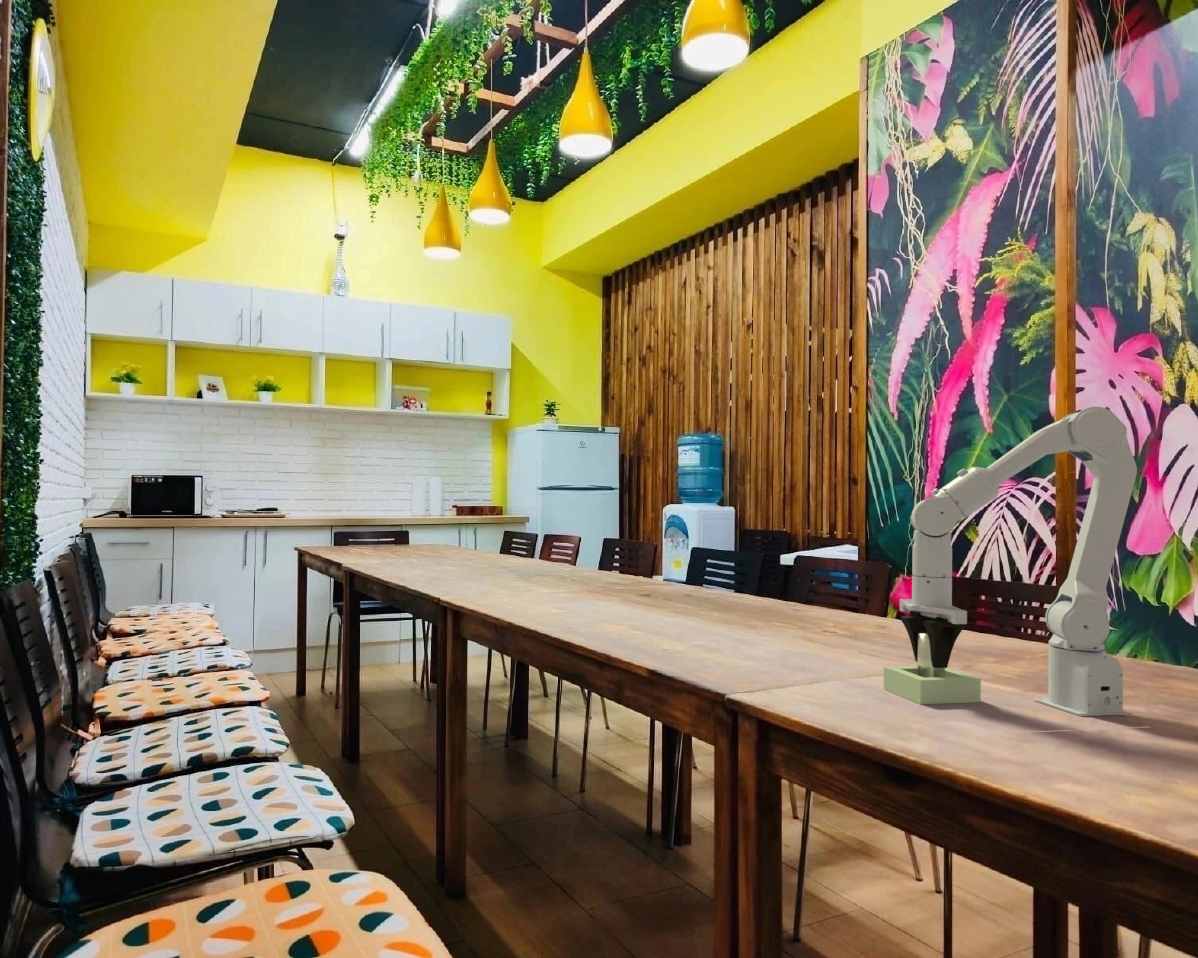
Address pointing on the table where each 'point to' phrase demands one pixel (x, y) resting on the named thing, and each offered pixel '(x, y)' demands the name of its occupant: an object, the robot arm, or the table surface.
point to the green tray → (932, 686)
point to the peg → (926, 658)
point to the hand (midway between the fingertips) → (931, 664)
